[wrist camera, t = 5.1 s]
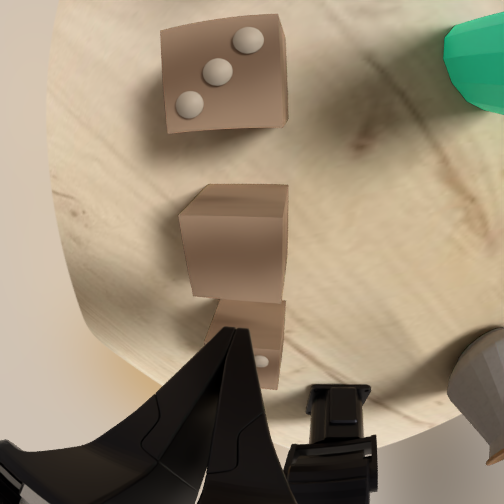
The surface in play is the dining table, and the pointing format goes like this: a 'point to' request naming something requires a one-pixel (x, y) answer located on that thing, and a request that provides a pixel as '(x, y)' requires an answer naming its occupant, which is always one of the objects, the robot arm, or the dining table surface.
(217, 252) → the plain block
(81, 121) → the dining table surface
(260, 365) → the two dot block
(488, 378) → the coffee pot
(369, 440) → the robot arm
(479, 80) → the candle
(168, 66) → the three dot block
